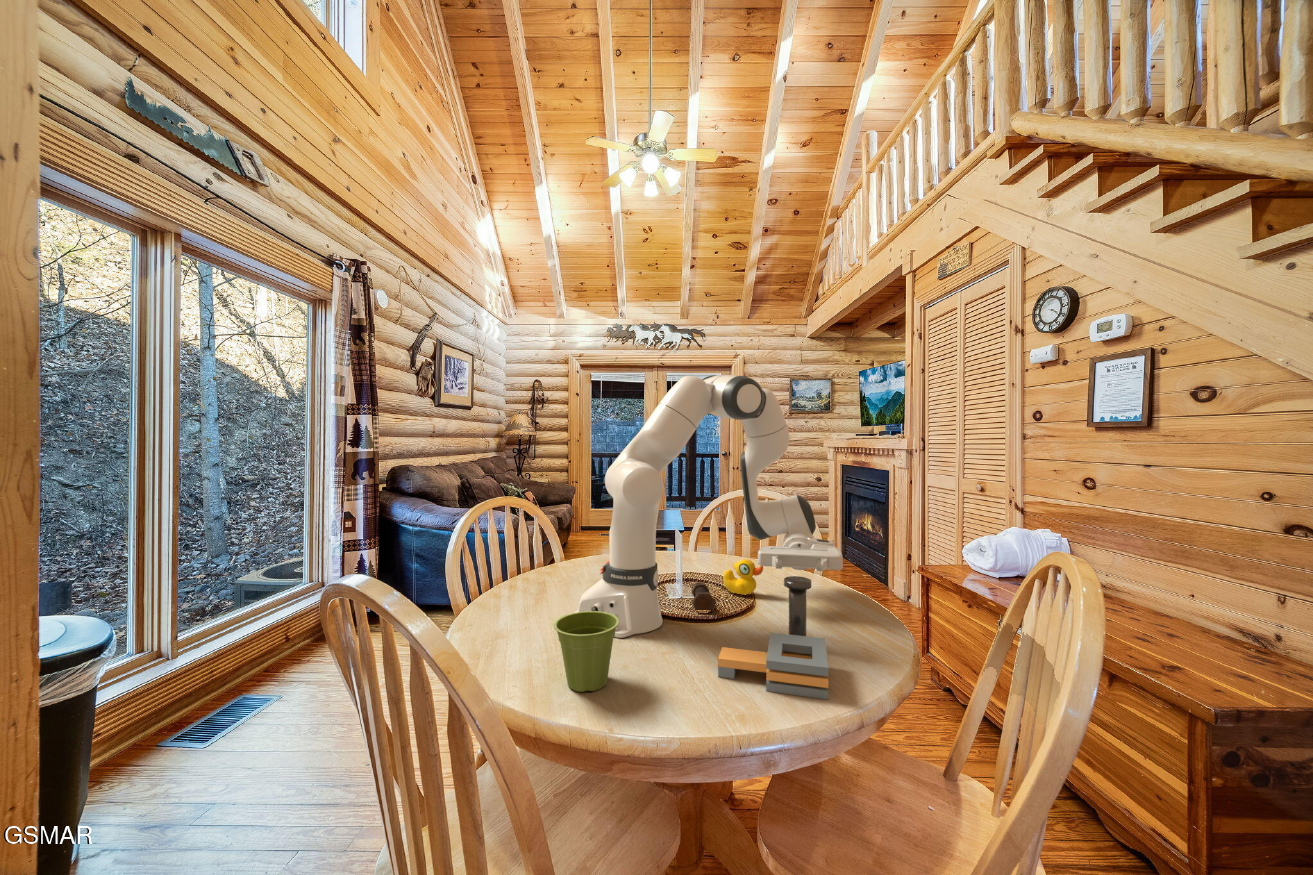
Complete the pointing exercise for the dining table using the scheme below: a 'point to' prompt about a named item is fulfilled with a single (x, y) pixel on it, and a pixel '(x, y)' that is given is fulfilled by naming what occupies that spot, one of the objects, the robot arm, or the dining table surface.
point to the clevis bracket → (783, 664)
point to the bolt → (702, 597)
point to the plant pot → (586, 647)
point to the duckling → (742, 577)
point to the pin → (797, 603)
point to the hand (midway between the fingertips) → (799, 566)
